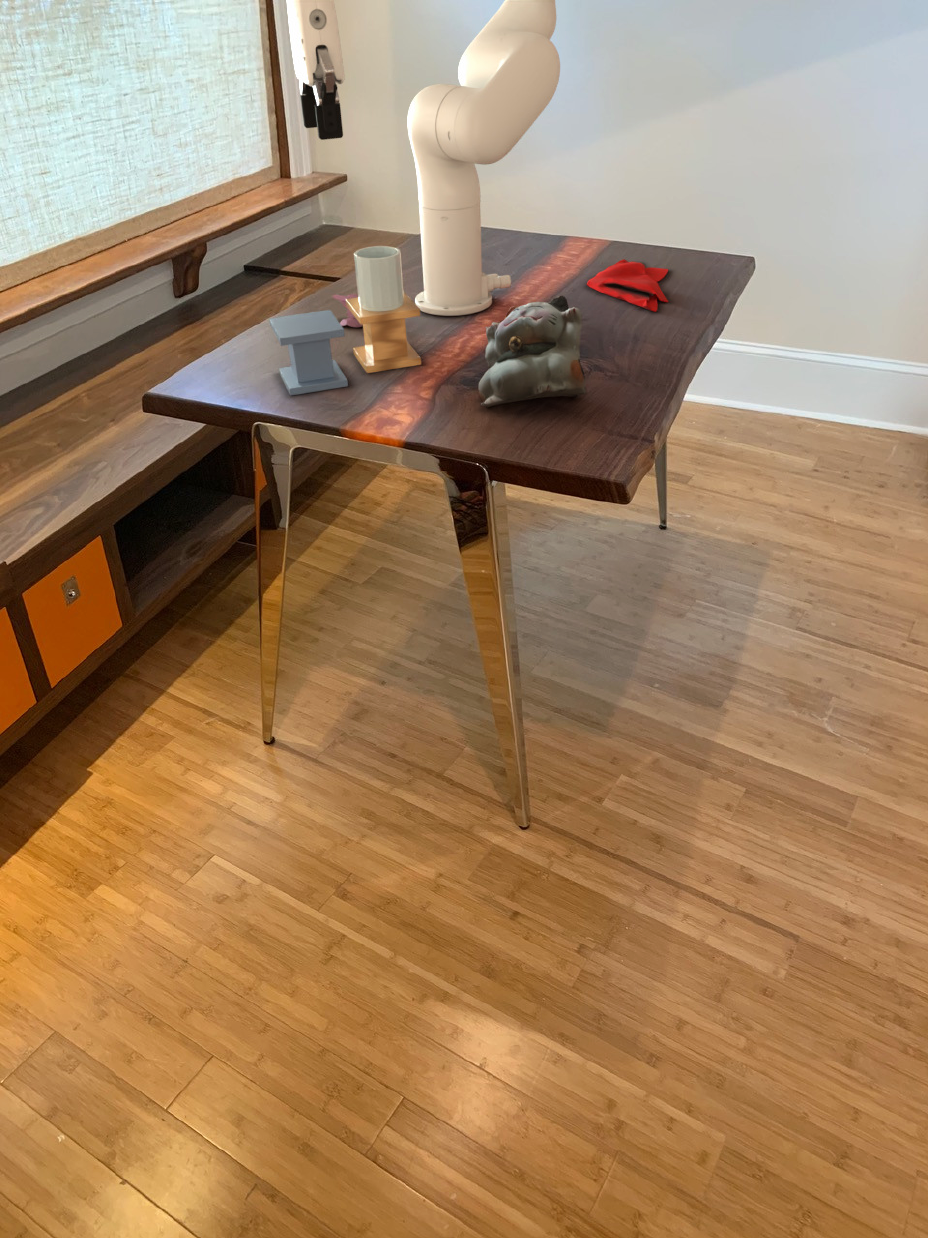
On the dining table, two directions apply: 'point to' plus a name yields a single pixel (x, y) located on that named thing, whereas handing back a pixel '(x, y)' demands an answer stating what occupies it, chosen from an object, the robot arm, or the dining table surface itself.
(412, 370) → the dining table surface
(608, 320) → the dining table surface
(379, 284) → the container
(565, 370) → the lucky cat figurine
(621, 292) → the cloth
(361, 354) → the maple stand
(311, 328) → the blue stand
